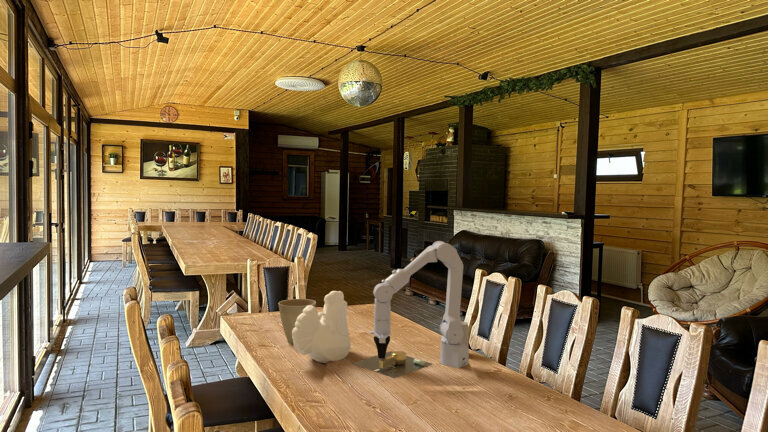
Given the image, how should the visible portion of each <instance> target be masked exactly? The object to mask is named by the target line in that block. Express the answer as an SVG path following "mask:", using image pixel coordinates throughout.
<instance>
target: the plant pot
mask: <svg viewBox="0 0 768 432" xmlns="http://www.w3.org/2000/svg"><path fill="white" fill-rule="evenodd" d="M277 304H278V311H279V316H280V321H281V324H282V325H281V326H282V329H283V332H284V335H285V338H286V340H287V342H288V343H289V344H293V345H294V343H293V339H292V330H293V329H294V328H295V322H296V319H297V317H298V316H299V315H300V314H301V313H303V312H302V311H303V309H304V308H305V307H306V306H308V305H312V306H314V307H315V308H316V305H317V302H316V300H313V299H308V298H291V299H285V300H281V301H279V302H278V303H277Z"/></svg>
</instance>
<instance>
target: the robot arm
mask: <svg viewBox="0 0 768 432" xmlns="http://www.w3.org/2000/svg"><path fill="white" fill-rule="evenodd" d="M438 260H439V261H440V262H441V263H442V264H443V265H444V266H445V267H446V268H448V270H447V280H446V281H447V284H446V294H445V295H446V297H445V299H446V300H445V310H444V311H445V312H444V314H443V316H442V320H441V323H440V325H439V333H440V334H441V335H442V336H441V339H440V357H439V358H440V359H439V360H440V364H442V365H444V366H450V367H452V368H453V367H454V368H456V369H460V368H462V367H466V366H468V365H469V357H470V356H469V353H470V351H469V346H468V347H467V346H466V345H464V344H463V343H462V342H461V340H462V339H463V335H464V334H463V330H462V326H461V325H462V322H461V321H462V319H461V318H462V317H461V301H462V287H463V276H464V275H463V274H464V264H463V260H462V259H461V257H460V256H459V254H458V251H457V248H455V247H454V246H452V245H451V244H450V243H446V242H444V241H442V240H437V241H434V242H433V243H432V245H429V246H427V247H426V248H425V249H424V250H423V251H422V252H421V253H420V254H418V255H417V256H416V257H415V258H414V259H413V260H412V261H410V263H409V264H407V265H406V266H405V267H404V268H397V269H393V270H391V273H392V274H390V275H389V276H388V277H386V278H385V279H382V280H381V283H378V284H376V285H375V286H374V287H373V291H372V294H373V296H374V297H375V298H374V306H373V330H370V335H374V336H373V342H374V343H375V348H376V351H377V355H378V358H381V359H384V358H385V355H386V352H387V350H388V346H389V344H390V342H391V335H392V331H391V321H392V320H391V319H392V318H391V316H392V315H391V313H392V310H391V308H392V306H391V301H392V299H393V295H394V294H396V293H397V292H398V291H400V290H401V289H402V288H403V287H404V286H405V285H407V284H408V283H410V277H411V276H412V275H413V274H416V272H418V271H419V270H420V269H422V268H423V267H424V266H426V265H427V264H428V263H437V262H438Z"/></svg>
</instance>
